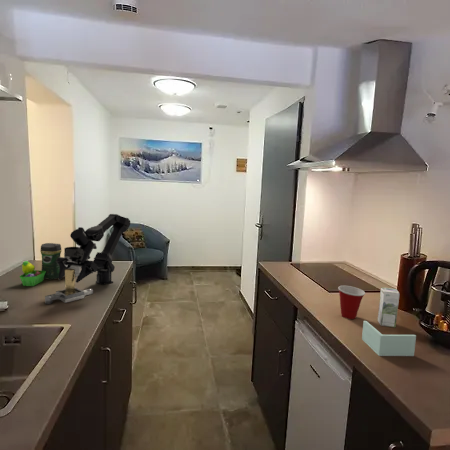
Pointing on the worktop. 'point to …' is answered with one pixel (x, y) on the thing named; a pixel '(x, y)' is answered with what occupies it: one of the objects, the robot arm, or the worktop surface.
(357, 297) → the plastic cup
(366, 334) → the l-shaped corner panel
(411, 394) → the worktop surface
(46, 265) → the coffee jar
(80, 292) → the ball-tipped frame bar
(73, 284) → the brass pin
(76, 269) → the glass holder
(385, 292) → the syrup box
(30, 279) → the fruit basket
